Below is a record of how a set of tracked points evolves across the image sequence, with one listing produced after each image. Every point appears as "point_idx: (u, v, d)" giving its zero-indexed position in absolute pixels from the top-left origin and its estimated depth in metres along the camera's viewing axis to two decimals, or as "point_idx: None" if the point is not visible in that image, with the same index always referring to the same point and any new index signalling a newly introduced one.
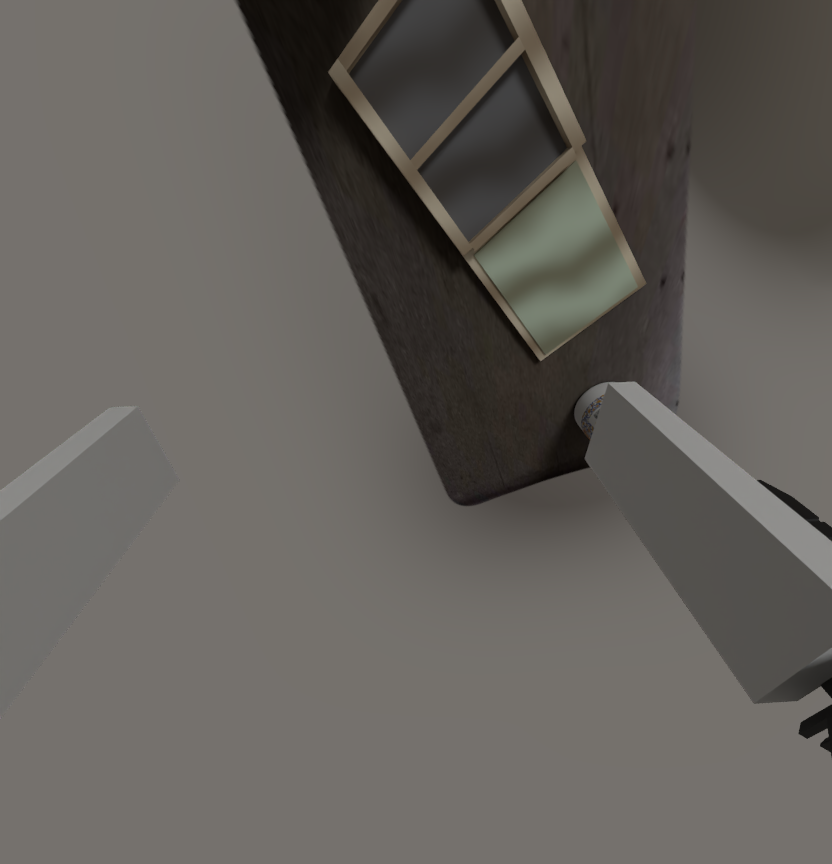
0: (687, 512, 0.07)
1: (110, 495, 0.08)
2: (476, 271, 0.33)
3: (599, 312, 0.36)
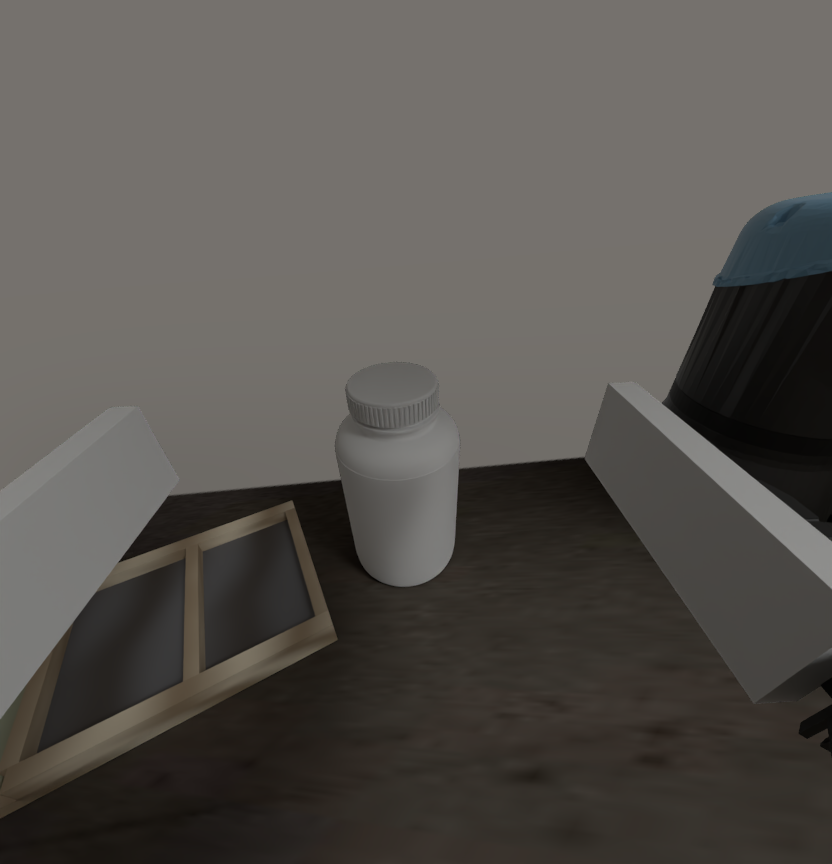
0: (687, 512, 0.07)
1: (110, 495, 0.08)
2: None
3: None
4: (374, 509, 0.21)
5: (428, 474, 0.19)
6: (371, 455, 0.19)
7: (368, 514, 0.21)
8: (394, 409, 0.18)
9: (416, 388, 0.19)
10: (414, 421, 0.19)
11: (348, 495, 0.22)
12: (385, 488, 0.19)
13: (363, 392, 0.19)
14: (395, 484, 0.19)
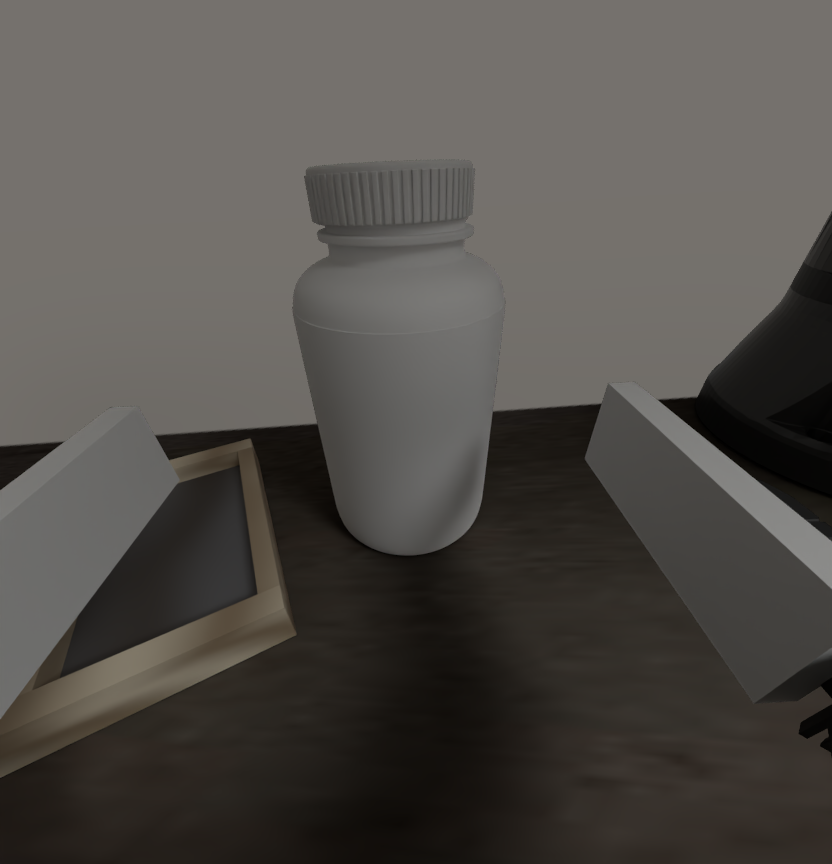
0: (687, 512, 0.07)
1: (110, 495, 0.08)
2: None
3: None
4: (356, 405, 0.12)
5: (455, 330, 0.11)
6: (349, 288, 0.10)
7: (347, 418, 0.12)
8: (392, 174, 0.09)
9: None
10: (431, 216, 0.10)
11: (315, 390, 0.13)
12: (374, 355, 0.11)
13: None
14: (393, 345, 0.10)
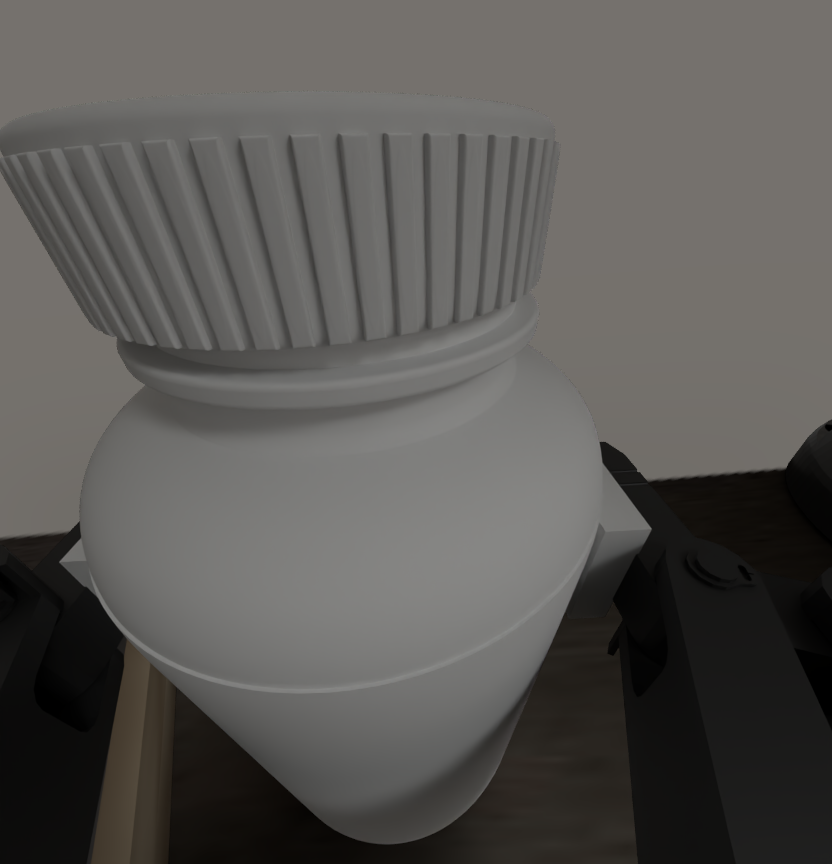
0: None
1: None
2: None
3: None
4: (245, 744, 0.05)
5: (504, 636, 0.03)
6: (165, 533, 0.03)
7: (234, 740, 0.05)
8: (249, 156, 0.02)
9: None
10: (429, 314, 0.03)
11: None
12: (261, 714, 0.03)
13: None
14: (311, 705, 0.03)
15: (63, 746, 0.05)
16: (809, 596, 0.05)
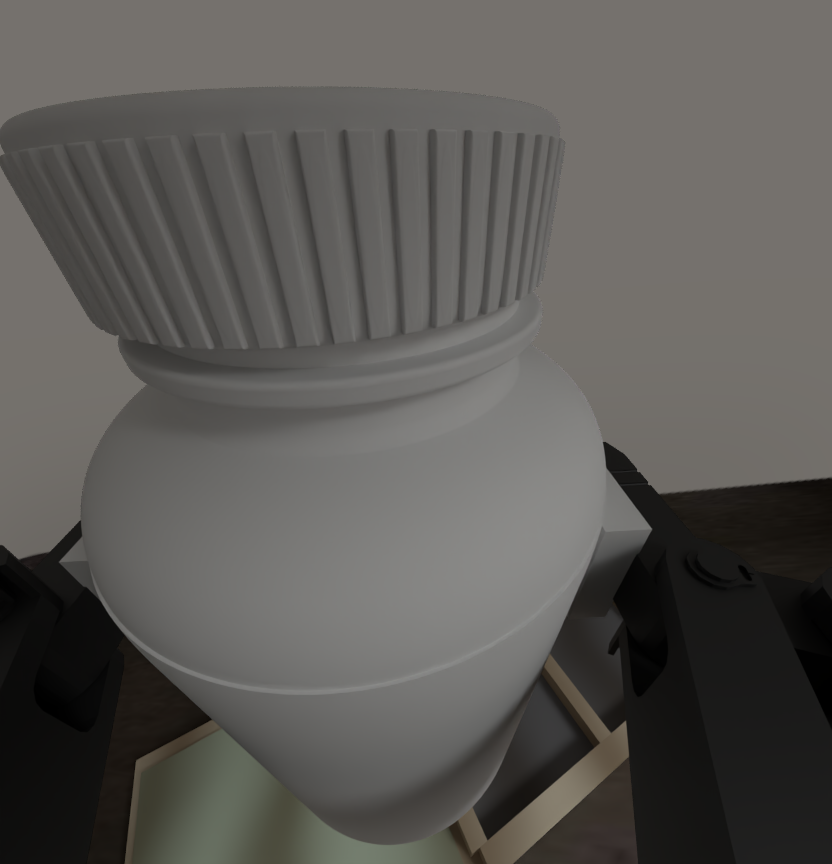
0: None
1: None
2: None
3: None
4: (247, 746, 0.05)
5: (508, 638, 0.03)
6: (167, 533, 0.03)
7: (236, 741, 0.05)
8: (254, 152, 0.02)
9: None
10: (434, 312, 0.03)
11: None
12: (263, 714, 0.03)
13: None
14: (315, 706, 0.03)
15: (63, 746, 0.05)
16: (809, 596, 0.05)
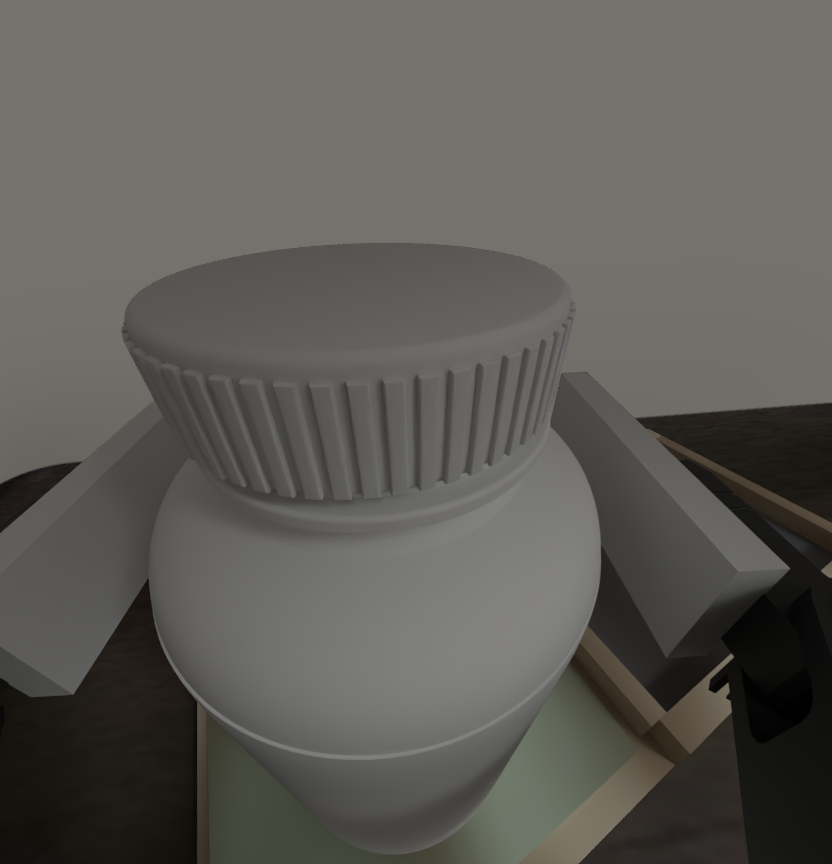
0: (618, 489, 0.08)
1: (169, 472, 0.09)
2: None
3: None
4: (285, 781, 0.05)
5: (519, 707, 0.04)
6: (242, 625, 0.04)
7: (270, 773, 0.06)
8: (352, 393, 0.03)
9: (480, 292, 0.04)
10: (470, 466, 0.03)
11: None
12: (314, 768, 0.04)
13: (199, 301, 0.04)
14: (360, 766, 0.04)
15: None
16: None
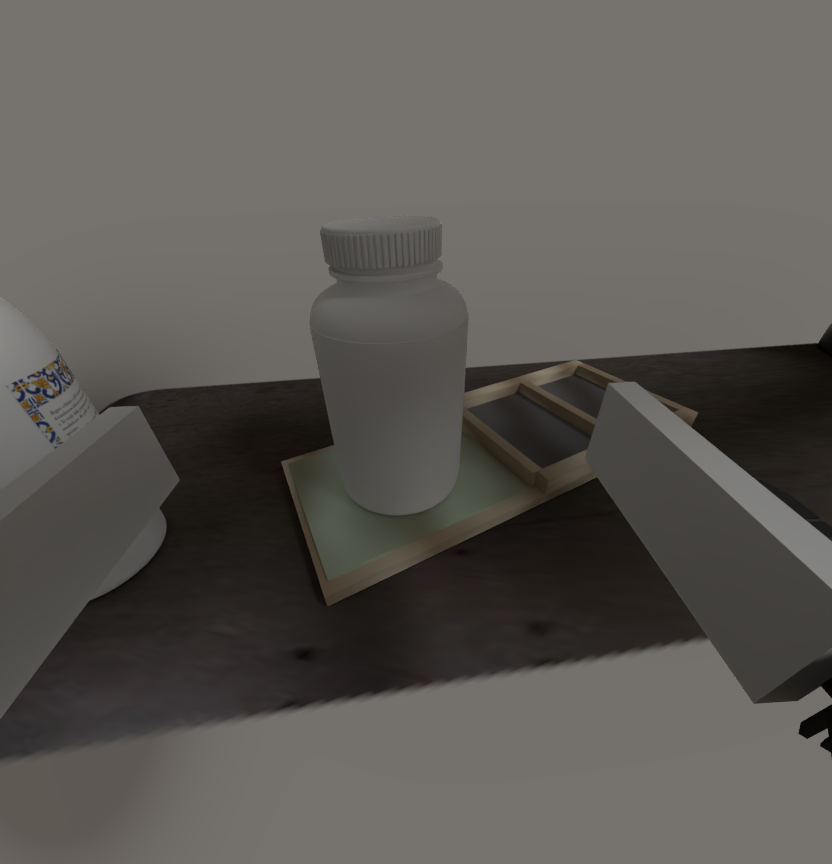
0: (687, 512, 0.07)
1: (110, 495, 0.08)
2: None
3: (313, 523, 0.21)
4: (358, 395, 0.16)
5: (428, 340, 0.15)
6: (352, 311, 0.15)
7: (351, 405, 0.17)
8: (382, 236, 0.13)
9: (412, 222, 0.14)
10: (409, 262, 0.14)
11: (326, 384, 0.17)
12: (371, 358, 0.15)
13: (342, 226, 0.14)
14: (384, 351, 0.15)
15: None
16: None
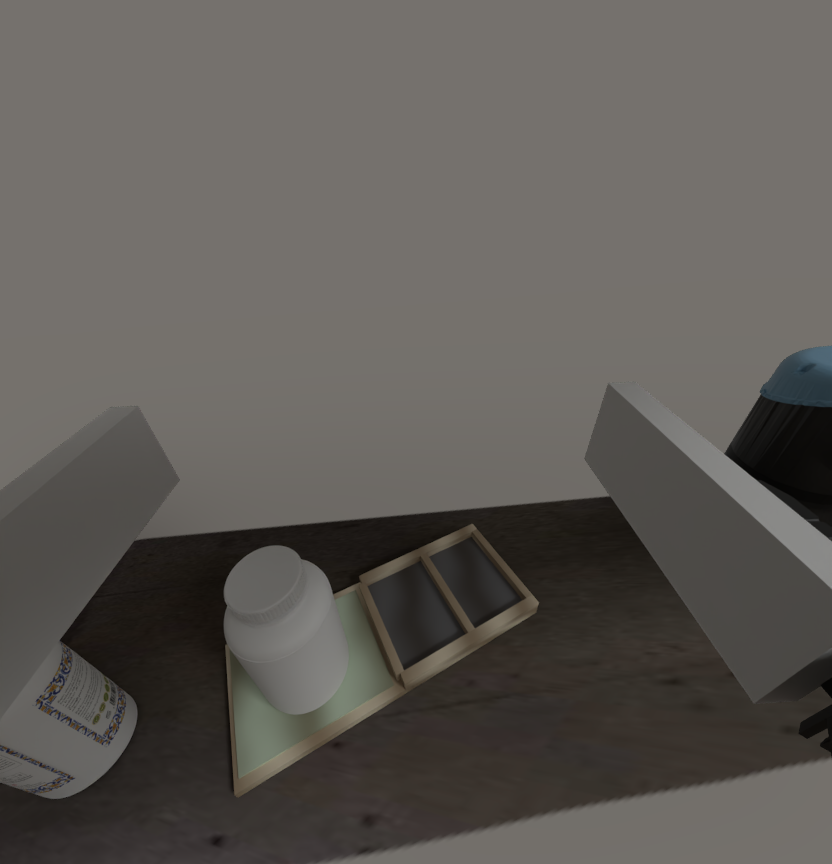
0: (687, 512, 0.07)
1: (110, 495, 0.08)
2: (342, 591, 0.40)
3: (237, 719, 0.30)
4: (252, 674, 0.25)
5: (290, 654, 0.24)
6: (242, 641, 0.24)
7: (250, 674, 0.26)
8: (253, 615, 0.23)
9: (278, 589, 0.24)
10: (274, 618, 0.23)
11: None
12: (255, 665, 0.24)
13: (235, 592, 0.24)
14: (262, 664, 0.24)
15: None
16: None
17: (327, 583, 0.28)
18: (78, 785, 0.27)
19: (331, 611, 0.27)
